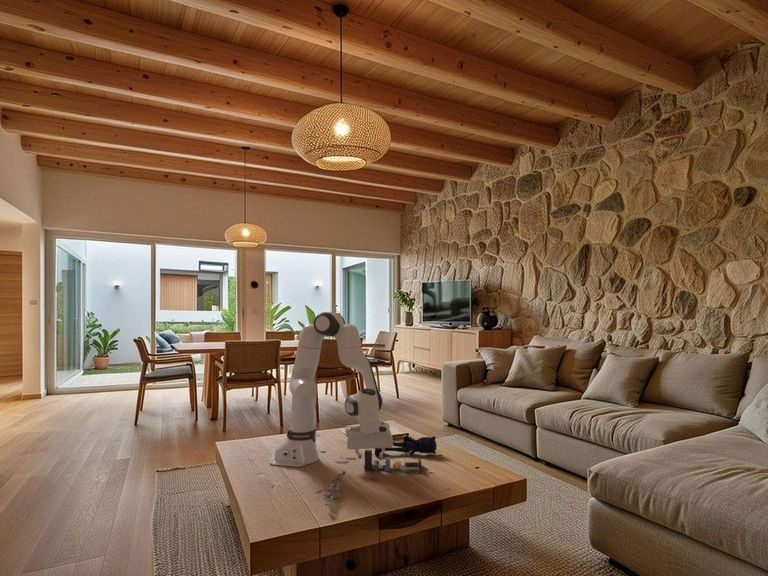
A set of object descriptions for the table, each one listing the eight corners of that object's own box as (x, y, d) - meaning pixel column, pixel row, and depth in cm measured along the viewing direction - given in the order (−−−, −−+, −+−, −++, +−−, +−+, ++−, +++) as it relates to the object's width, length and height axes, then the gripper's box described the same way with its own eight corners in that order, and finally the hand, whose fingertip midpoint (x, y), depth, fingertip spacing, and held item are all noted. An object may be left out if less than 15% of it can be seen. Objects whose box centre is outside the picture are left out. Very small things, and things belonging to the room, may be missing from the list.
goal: (405, 473, 194) (405, 461, 195) (404, 465, 203) (404, 454, 204) (421, 473, 194) (421, 461, 194) (420, 465, 203) (420, 454, 203)
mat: (392, 474, 194) (392, 473, 194) (392, 465, 204) (392, 465, 204) (425, 474, 194) (425, 473, 194) (423, 465, 204) (423, 465, 204)
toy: (375, 458, 221) (437, 457, 218) (372, 455, 213) (437, 454, 210) (375, 437, 226) (436, 436, 223) (373, 433, 218) (436, 432, 215)
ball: (393, 471, 197) (392, 462, 197) (393, 468, 201) (393, 460, 201) (401, 471, 197) (400, 462, 197) (401, 468, 201) (400, 460, 201)
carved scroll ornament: (318, 516, 158) (317, 504, 158) (337, 480, 188) (336, 470, 188) (331, 516, 158) (331, 504, 158) (348, 480, 188) (347, 470, 188)
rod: (363, 471, 197) (363, 452, 197) (364, 467, 202) (364, 449, 202) (390, 471, 197) (389, 452, 197) (390, 467, 202) (390, 449, 202)
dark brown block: (373, 472, 196) (373, 465, 196) (374, 467, 202) (374, 460, 203) (378, 472, 196) (378, 465, 196) (379, 467, 202) (379, 460, 202)
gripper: (345, 429, 197) (346, 461, 197) (392, 427, 197) (393, 459, 197) (346, 425, 204) (347, 456, 204) (392, 423, 204) (393, 454, 204)
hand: (370, 458), depth 200 cm, fingers open, 8 cm apart
